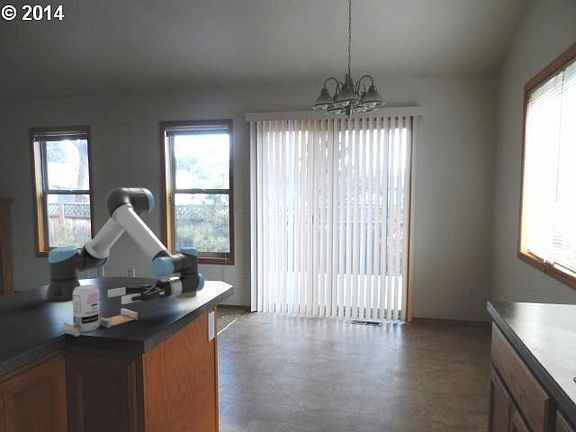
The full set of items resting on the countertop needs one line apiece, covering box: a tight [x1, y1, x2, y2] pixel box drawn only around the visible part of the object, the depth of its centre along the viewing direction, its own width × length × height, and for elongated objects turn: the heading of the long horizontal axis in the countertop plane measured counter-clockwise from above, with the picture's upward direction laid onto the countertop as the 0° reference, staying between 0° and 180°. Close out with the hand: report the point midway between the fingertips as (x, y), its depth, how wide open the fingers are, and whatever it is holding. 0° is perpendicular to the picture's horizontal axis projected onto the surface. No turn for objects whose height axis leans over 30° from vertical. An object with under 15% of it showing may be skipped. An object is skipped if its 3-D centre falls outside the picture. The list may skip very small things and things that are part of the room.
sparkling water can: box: [72, 284, 101, 333], centre depth 139 cm, size 8×8×15 cm
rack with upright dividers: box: [61, 307, 139, 337], centre depth 144 cm, size 10×23×2 cm, turn 144°
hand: (114, 297), depth 145 cm, fingers open, 13 cm apart
